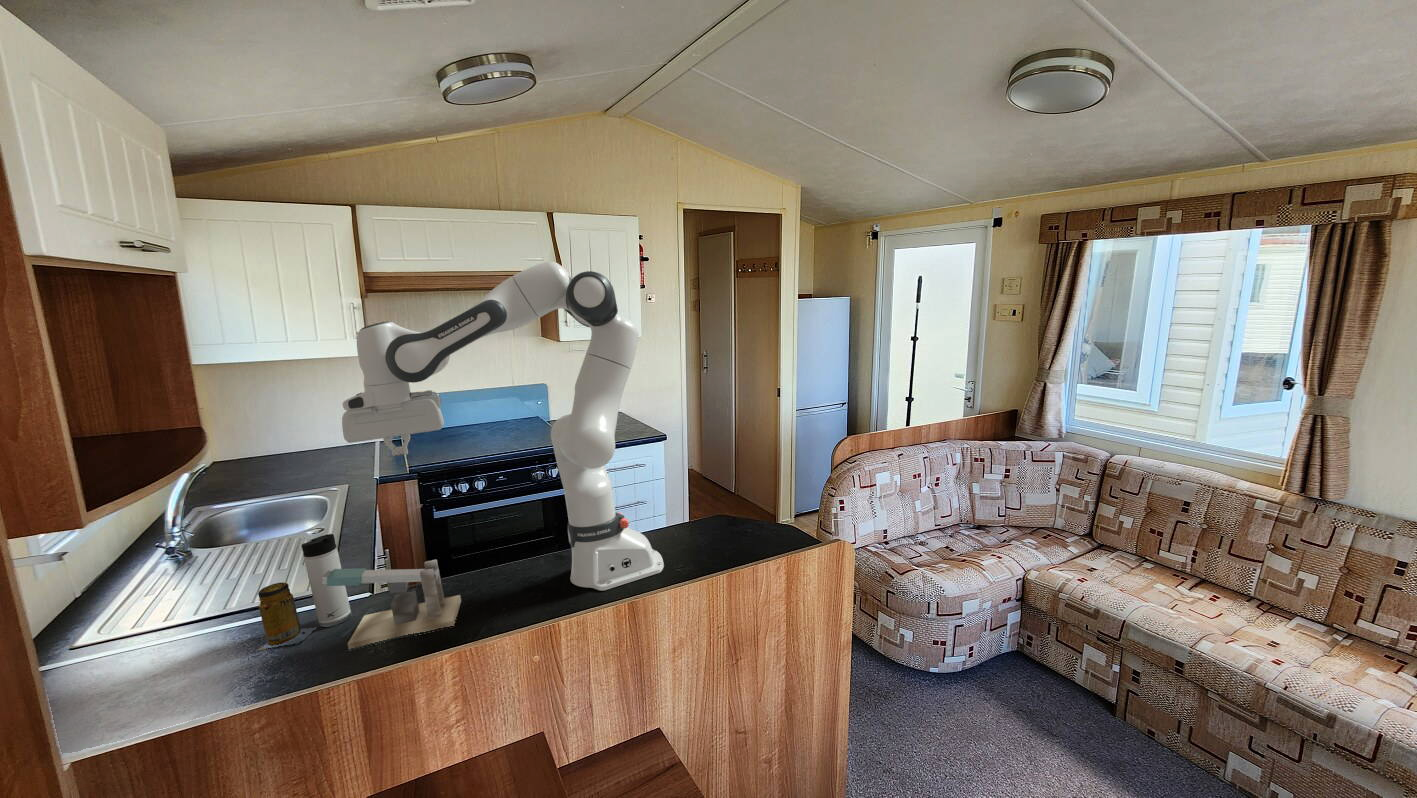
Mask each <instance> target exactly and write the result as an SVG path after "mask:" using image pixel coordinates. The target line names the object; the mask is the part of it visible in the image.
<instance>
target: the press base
mask: <svg viewBox="0 0 1417 798" xmlns="http://www.w3.org/2000/svg"><path fill="white" fill-rule="evenodd" d="M438 563H439V562H438V560H437V559H432V560H427V561H424V562H423V565H424V569H428V570H423V571H421V572H420V577H421V582H420V583H421V587H422V591H423V598H424V602H419V601H418V597H417V591H416V590H412V591H408V592H407V591H406V592H405V593H396V594H395V595H394V597H393V599H392V601H391V602H390V609H389V610H382V611H378V612H374V613H370V614H364V615H363V617H362V618H361V620H360V622H359V624H358V625H357V627H356V629H355V630H354V632H353V634H352V636H351V638H350V639H349V640H348V642H347V648H348V650H349V649H351V648H355V647H359V646H364V645H366V644H370V643H375V642H379V641H383V640H387V639H391V638H395V637H399V636H403V635H408V634H413V633H414V634H415V633H420V632H426V631H430V630H435V629H438V628H444V627H450V626H454V627H455V625H456V624H455V623H456V621H457V618H456V617H458V613H459V610H460V607H461V603H462V598H461V594H458V595H453V596H449V597H448V596H447V597H445V596H444V595H445V594H444V590H443V585H442V580H441V575H440V573H439V576H438V579H437V581H435V577H434V571H433V569H439V568H440V567H439V565H438ZM439 570H440V569H439ZM455 620H456V621H455ZM454 624H455V625H454ZM450 628H451V627H450Z"/></svg>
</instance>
